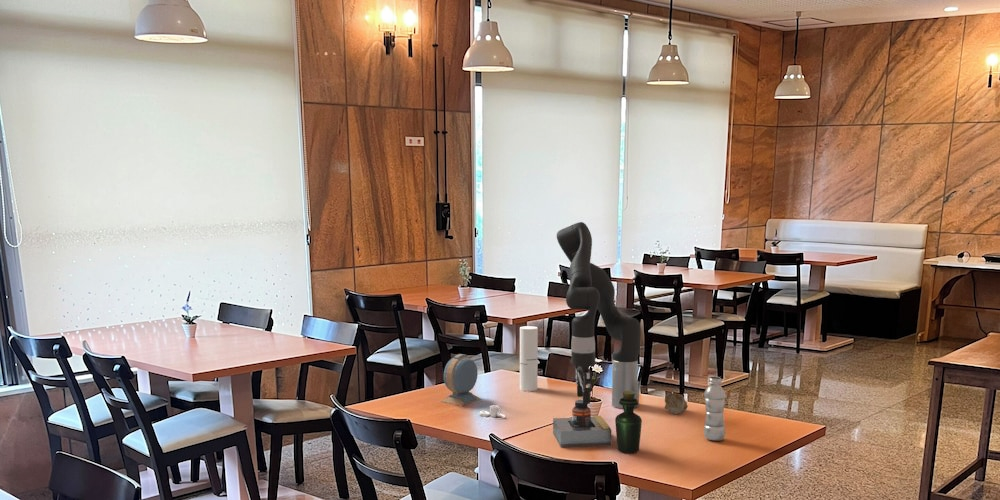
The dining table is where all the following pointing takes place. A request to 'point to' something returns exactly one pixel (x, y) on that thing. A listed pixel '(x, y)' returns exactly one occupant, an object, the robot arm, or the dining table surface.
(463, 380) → the alarm clock
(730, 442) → the dining table surface
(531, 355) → the cylindrical container
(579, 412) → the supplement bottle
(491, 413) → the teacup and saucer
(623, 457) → the dining table surface
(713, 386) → the plastic bottle
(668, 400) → the grey brown rock
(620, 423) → the potion bottle
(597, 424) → the jig
